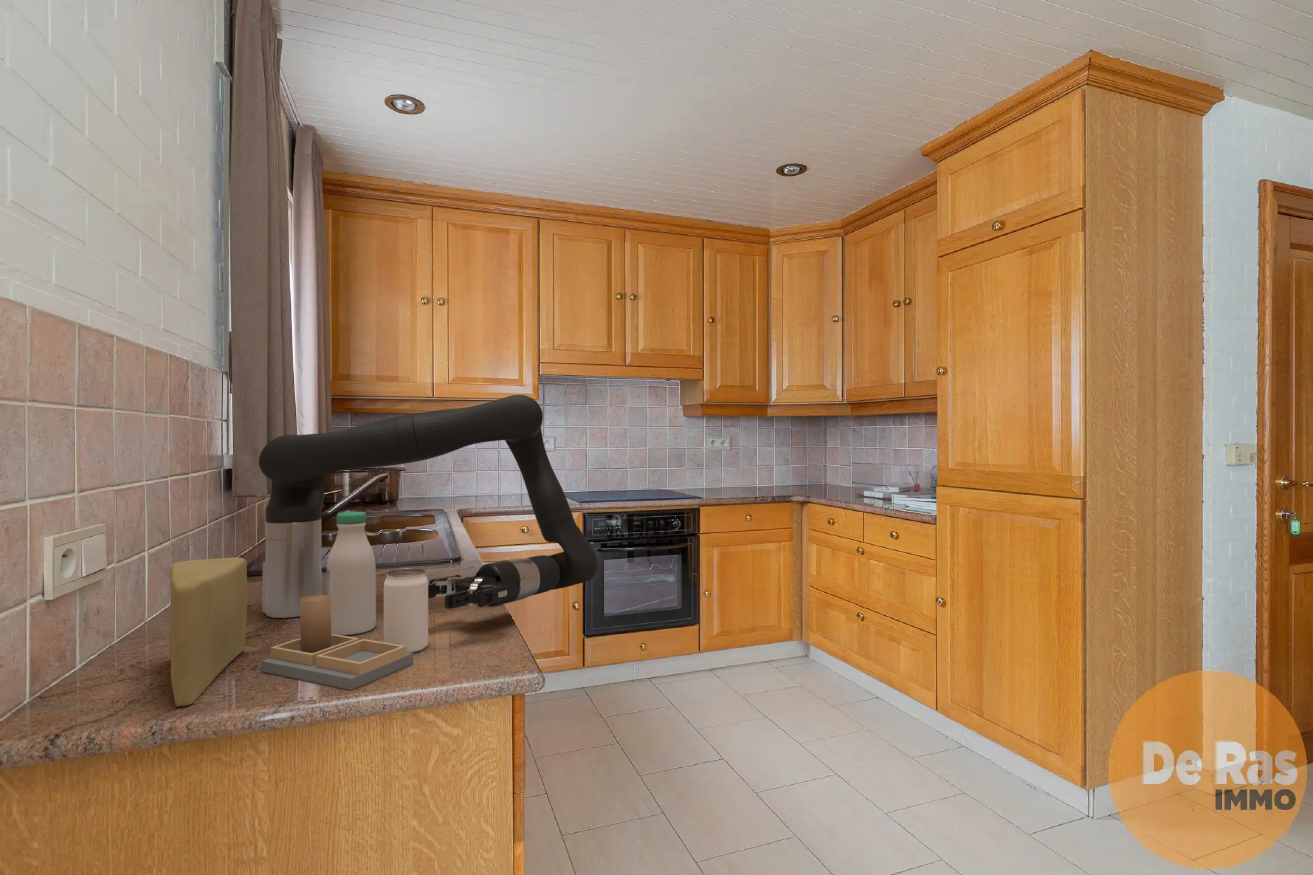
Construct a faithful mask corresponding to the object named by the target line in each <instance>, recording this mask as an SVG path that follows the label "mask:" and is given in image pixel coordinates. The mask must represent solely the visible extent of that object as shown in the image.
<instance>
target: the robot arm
mask: <svg viewBox="0 0 1313 875" xmlns="http://www.w3.org/2000/svg"><path fill="white" fill-rule="evenodd" d="M543 419H544V413H543V409H542V407H541V406H540V404H539V403H538V402H537V400H536V399H534V398H532V397H531V396H528V395H524V394H513V395H509V396H506V397H501V398H498V399H495V400H492V401H487V402H483V403H480V404H476V405H471V406H467V407H460V408H450V409H449V408H448V409H440V410H439V409H438V410H431V411H424V412H415V413H409V414H403V415H398V416H393V417H388V418H384V419H383V418H382V419H379V420H375V421H371V422H367V423H363V424H359V425H356V426H353V427H349V428H346V429H341V430H336V431H330V432H319V433H307V434H282V435H280V436H277V437H275V438H273V439H272V440H270V441H269V442H267V444H266V445H265V446H264V447H263V448H262V450H261V451H260V454H259V457H258V465H259V466H258V467H259V468H260V471H261V473H263V475H264V476H265V477H266V478H268V479H269V480H270V481H271V487H270V488H271V489H270V490H271V491H270V497H269V501H268V503H267V505H266V507H265V561H263V562H262V614H265V615H266V617H269V618H275V619H276V618H278V619H280V618H283V619H286V618H297V617H300V599H302V598H304V597H308V596H314V595H323V594H322V593H323V592H322V585H323V584H322V583H323V580H322V579H323V578H322V572H323V571H322V565H323V564H322V559H323V558H322V511H323V510H322V509H323V506H324V500H325V480H326V479H325V476H326V475H328V474H332V473H335V472H341V471H346V470H352V469H366V468H367V469H368V468H369V469H370V468H378V467H379V468H380V467H382V468H383V467H388V466H389V467H391V466H397V465H405V464H411V463H415V462H422V461H425V460H426V461H427V460H430V459H434V458H437V457H440V456H443V455H446V454H449V453H453V452H455V451H457V450H460V449H462V448H466V447H468V446H472V445H476V444H482V443H489V442H499V441H505V443H506V445H507V447H508V448H509V450H510V452H511V454H512V455H513V457H514V459H515V461H516V464H517V467H518V468H519V470H520V471H519V472H520V474H521V476H522V479H523V481H524V485H525V488H526V491H527V494H528V498H529V501H530V505H531V507H532V511H533V513H534V516H535V519H536V522H537V525H538V528H539V530H540V533H541V535H542V538H543V539H544V541H545V542H547V543H557V544H558V545H559V546H560V547H561V549H562V550H563V551H561V552H557V553H553V554H550V555H543V554H542V555H535V556H529V557H523V558H521V557H519V558H511V559H505V560H501V561H495V562H489V563H486V564H483V565H481V566H480V568H478V571H477V572H476V574H475V575H473V574H469V575H468V574H467V575H464V576H462V575H460V574H456V575H451V576H450V575H449V576H443V577H440V578H439V577H438V578H432V579H429V583H428V600H429V599H434V598H443V597H444V608H445V609H447V610H451V609H456V608H460V607H464V606H468V607H474V606H475V605H476V606H477V607H479V608H483V607H489V608H492V607H493V608H495V607H497V606H498V607H499V606H501V605H505V604H509V603H514V602H517V601H522V600H524V599H527V598H529V597H532V596H536V595H541V594H543V593H546V592H549V591H552V590H559V589H564V588H568V587H572V586H577V585H579V584H583V583H586V582H589V581H592V580H593V579H594V578H595V577H596V575H597V573H598V570H599V569H598V568H599V560H598V556H597V554H596V551H595V550H594V548H593V546H592V544H590V542H589V540H588V539H587V538H586V536H585V535H584V533H583V531H581V528H580V527H579V526H578V525H577V523H576V520H575V518H574V515H573V512H572V510H571V508H570V507H571V506H570V505H569V501H568V500H567V496H566V495H565V492H564V490H563V487H562V485H561V483H560V481H559V480H558V478H557V475H556V473H555V471H554V469H553V467H552V465H551V462H550V460H549V457H548V453H547V451H546V450H547V449H546V446H545V442H544V437H543V433H542V432H543V431H542V425H543Z"/></svg>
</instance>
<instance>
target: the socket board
mask: <svg viewBox="0 0 1313 875" xmlns="http://www.w3.org/2000/svg"><path fill="white" fill-rule="evenodd" d="M299 617H300V619H299V620H300V626H299V627H300V628H299V629H300V632H299V633H300V636H299V638H297V639H294V640H290V641H287V642H286V641H285V642H284V643H281V644H277V645H274V646H271V647H270V657H269V658H267V659H262V660H261V661H260V662H261V665H260V666H261V669H260V670H261V672H262V673H266V674H267V673H268V674H271V675H276V676H281V677H285V678H290V679H296V680H300V681H304V682H310V683H314V684H320V685H324V686H329V687H333V688H339V689H343V690H349V691H353V690H356V689H358V688H360V687H362V686H365V685H367V684H369V683H372V682H374V681H376V680H379V679H381V678H383V677H386V676H388V675H390V674H392V673H396V672H397V671H400V670H402V669H404V668H406V667H409V666H411V665H413V664H414V653H407V652H406V646H403V645H397V644H391V643H384V641H377V640H371V639H366V638H363V639H360V638H358V637H355V636H354V637H353V636H349V635H336V634H331V596H329V595H326V594H322V595H314V596H308V597H304V598H302V599H300V616H299Z"/></svg>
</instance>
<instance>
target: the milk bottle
mask: <svg viewBox="0 0 1313 875" xmlns="http://www.w3.org/2000/svg"><path fill="white" fill-rule="evenodd" d="M366 521H367V514H366V512H364V511H346V512H345V511H343V512H339V513H337V514H336V527H337V529H338V530H337V535H336V537H335V541H334V543H333V545H332V546H331V549H330V552H329V555H328V558H327V562H326V582H325V584H326V588H325V589H326V590H325V593H326V594H325V595H329V596H331V634H336V635H342V636H349V635H358V634H363V633H366V632H369V631H371V630H373V629H374V628H375V627H376V625H377V578H376V577H377V573H376V572H377V571H376V569H377V568H376V558H375V553H374V550H373V548H372V546H371V543H370V542H369V540H368V537H367V533H366V529H365V526H366V525H367V522H366Z"/></svg>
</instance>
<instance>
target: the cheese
mask: <svg viewBox="0 0 1313 875" xmlns="http://www.w3.org/2000/svg"><path fill="white" fill-rule="evenodd" d="M247 567H248V565H247V560H246V558H243V557H220V558H207V559H192V560H183V561H177V562H174V563H172V564H171V565H170V567H169V602H170V605H169V606H170V607H169V609H170V617H169V618H170V623H169V624H170V625H169V650H170V679H171V680H170V681H171V687H172V692H173V693H172V694H173V700H174V705H175V706H176V707H178V708H180V706H181V707H187V705H188V706H191V705H192V704H194V702H196V700H197V699H198V698H199V697H200V696H201V695H202V694H203V692H205V690H207V688H208V687H209V686H210V685H211V683H212V682H213V681H214V680H215V679H216V678H217V676H218V675H219V674H221V672H223V670H224V669H225V668H227V667H228V666H229V664H230V663H231V662H232V661H233V660H235V659H236V658H237V657H238V656H239V655H241V653H242V652H244V651H245V648H246V632H247V615H248V614H247V613H248V576H247V575H248V574H247V573H248V570H247V569H248V568H247ZM201 693H202V694H201ZM190 704H191V705H190Z"/></svg>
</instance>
